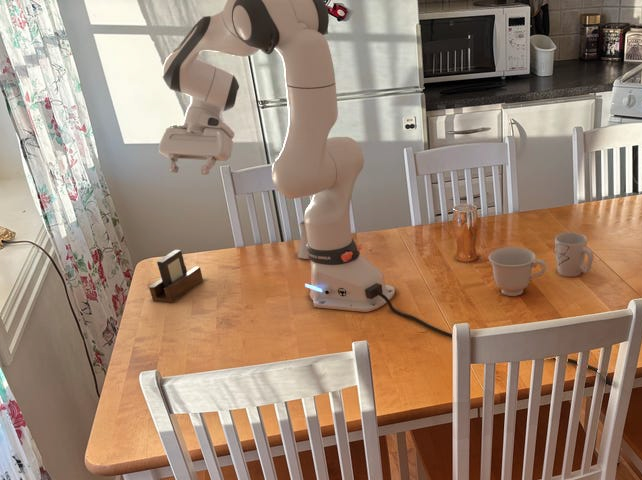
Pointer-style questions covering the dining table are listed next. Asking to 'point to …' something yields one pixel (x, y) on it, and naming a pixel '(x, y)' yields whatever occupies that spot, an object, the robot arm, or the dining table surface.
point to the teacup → (514, 269)
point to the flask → (303, 242)
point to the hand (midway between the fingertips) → (188, 172)
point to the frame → (171, 267)
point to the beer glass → (465, 231)
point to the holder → (176, 286)
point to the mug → (572, 254)
